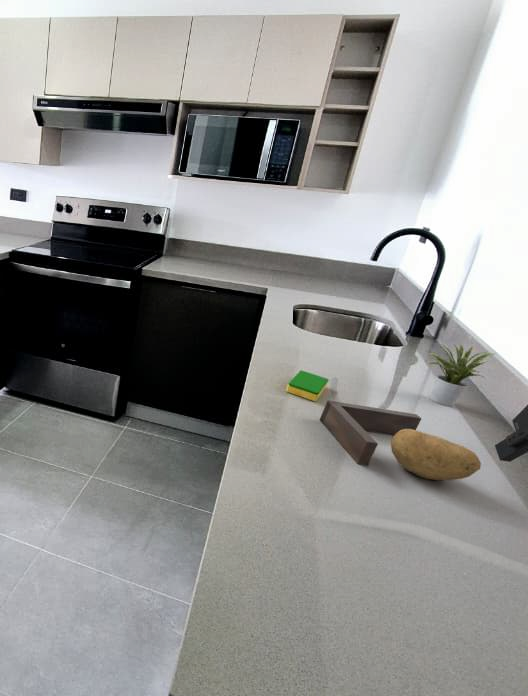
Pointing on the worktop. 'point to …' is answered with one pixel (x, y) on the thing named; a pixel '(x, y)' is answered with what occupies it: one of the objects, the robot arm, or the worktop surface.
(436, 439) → the potato
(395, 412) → the wooden corner bracket
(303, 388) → the dish sponge
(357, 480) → the worktop surface
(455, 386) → the house plant
